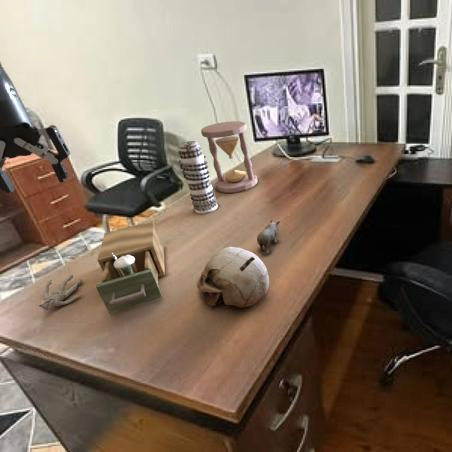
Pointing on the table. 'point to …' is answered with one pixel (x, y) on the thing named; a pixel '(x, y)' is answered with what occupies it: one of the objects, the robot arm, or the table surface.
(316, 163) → the table surface
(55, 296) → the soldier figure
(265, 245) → the rhino figurine
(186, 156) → the leaning tower model
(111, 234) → the cabinet
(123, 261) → the milkshake
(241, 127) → the hourglass
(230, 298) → the coin bank
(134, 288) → the drawer
